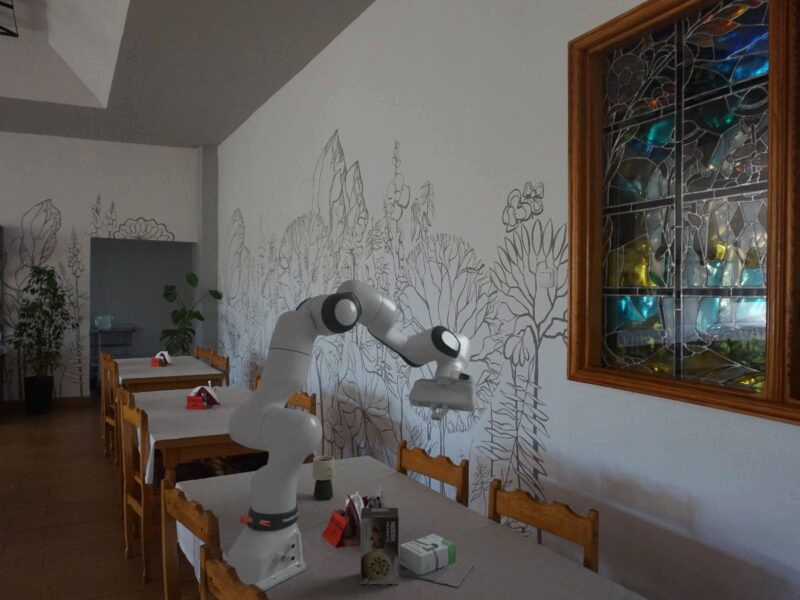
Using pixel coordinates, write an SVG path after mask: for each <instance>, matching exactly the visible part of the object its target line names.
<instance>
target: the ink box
mask: <svg viewBox="0 0 800 600" xmlns="http://www.w3.org/2000/svg"><path fill="white" fill-rule="evenodd" d="M456 547H457V546H456V543H455V542H452V541H450V540H448V539H446V538H443V537H442V536H439V535H437V534H435V533H432V534H429V535H427V536H424V537H420V538H418V539H414V540H412V541H409V542H405V543H402V544H399V564H400V565H401V566H402V567H404V568H406V570H407V569H409V570H411V571H412V572H414V573H416V574H417V575H423V574H426V573H428V572H431V571H434V570H436V569H439V568H441V567H444V566H447V565H449V564H452V563H455V562H456V561H457V551H456Z"/></svg>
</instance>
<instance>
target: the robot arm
mask: <svg viewBox="0 0 800 600" xmlns="http://www.w3.org/2000/svg"><path fill="white" fill-rule="evenodd" d="M396 302H397V301H395V300H394V299H393V298H392V296H390V295H389V294H388V293H385V292H384V291H382V290H380V289H378V288H377V287H374V286H372V285H370V284H368V283H365V282H364V281H360V280H356V279H351V278H350V279H347V280H345V281H343V282H342V283H341V284H340V285H339V286H338V288H337V289H336V291H335V293H330V294H329V293H328V294H326V293H325V294H319V295H316V296H313V297H307V298H306V299H304V300H303V301H302V302H300V303H299V304H298V305H297V307H296V308H295V310H288V311H285V312H283V313H282V314H280V315H279V317H278V319H277V322H276V324H275V326H274V330H273V332H272V334H271V337H270V341H269V346H268V351H267V355H266V359H265V363H264V367H263V371H262V376H261V378H260V379H259V383H258V385H257V387H256V389H255V390H254V392H253V393H252V395H250V397H249V399H247V400H246V401H245V402H244V403H243V404H241V405H240V406H238V407H236V409H235V410H234V411H233V412H232V414H231V415H230V418H229V421H228V428H227V429H228V434H229V436H230V438H231V440H232V441H234V442H235V443H237V444H239V445H241V446H243V447H246V448H249V449H254V450H260V451H265V452H268V460H267V463H266V465H263V466H262V467H260V468H259V469H258V470H256V471H255V472H254V473H253V475H252V477H251V483H250V485H251V491H250V493H251V495H250V497H251V498H250V500H251V501H250V507H249V509H248V512H247V514H243V513H242V514H241V515H240V516H239V519H238V521H239V523H240V524H246V525H245V527H244V528H243V530H242V531H241V532H240V535H239V536H238V537H237V539H236V541H235V542H234V543H233V544H232V547H230V549H229V550H228V553H227V557H226V564H227V563H228V564H229V565H231V566H233V567H234V568H235V569H236V571H237V573H238V575H239V577H240V578H241V579H242V580H243V581H244V582H245V583H248V584H254V585H256V586H258V587H259V588H261V589H262V590H264V591H263V592H266V591H267V590H268V589H271V588H273V587H275V586H276V585H279V584H280V583H282V582H284V581H286V580H288V579H289V578H291V577H293V576H295V575H298V574H299V573H301V572H303V571H305V570H306V569H307V563H306V562H305V561H304V558H303V546H302V543H303V542H302V536H301V535H302V534H301V532H300V529H299V527H298V523H297V521H298V519H299V507H298V504H297V493H298V492H297V488H298V477H299V473H300V471H301V470H300V469H301V467H302V464H303V463H304V461H305V460H306V459H307V458H308V457H309V456H310V455H312V453H314V452H315V451H316V450H317V449H318V448H319V446H320V444H321V442H322V440H323V439H322V438H323V426H322V423H321V421H320V419H319V418H318V416H317V415H314V414H312V413H309V412H306V411H303V410H301V409H295V408H286V407H285V406H286V404H287V402H288V401H289V399H290V398H291V397H292V396H293V395H295V394H297V393H299V392H300V391H302V390H303V389H304V388H305V386H306V384H307V382H308V377H309V372H310V371H309V370H310V366H311V359H312V355H313V350H314V349H313V348H314V344H315V341H316V339H317V337H318V336H322V337H328V336H336V335H338V334H339V335H340V334H341V335H342V334H345V333H347V332H350V331H351V330H352V329H354V328H355V327H356V325H357V324H359V325H362V326H363V327H365V328H366V329H367V331H368V333H369V334H370V336H371V337H373V338H374V339H375V340H377V341H378V342H379V343H381V344H382V345H384V346H385V347H386V348H388V349H390V350H391V351H393V352H394V353H395V354H396V355H398V356H399V357H400V358H401V359H402V361H404V363H406V364H407V365H408V366H409V367H412V368H415V369H419V368H422V367H423V366H425V365H427V364H429V363H432V362H434V361H435V362H436V363H437V368H436V370H435V373H434V376H433V378H423V377H422V378H419V379H417V380H415V381H414V382H413V386H412V388H411V390H410V393H408V401H409V403H410V405H412V406H413V407H420V408H430V410H431V415H430V418H431V420H432V421H438V422H439V421H440V422H442V421H443V418H444V417H445V416H446V415H447V414H448V413H449V411H460V412H469V413H472V412H473V411H475V410H476V407H477V402H478V401H477V400H478V395H477V392H478V387H477V383H476V381H475V378H474V376H473V375H470V374H468V373H466V370H467V368H468V366H469V363H470V360H471V354H472V345H471V341H470V339H469V338H468V337H467V336H466V335H464V334H462V333H459V332H457V333H456V332H455V333H454V332H452V331H451V330H450V329H448V328H447V327H445V326H443V325H436V326H433V327H431V328H428V329H426V330H424V331H421V332H419V333H416V334H412V335H406V334H405V333H402V332H401V331H399V329H397V328H396V327H394V326H395V324H396V322H397V319H398V314H399V313H398V312H399V311H398V310H399V309H398V305H397V303H396ZM438 409H440V412H437V410H438Z"/></svg>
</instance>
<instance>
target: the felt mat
mask: <svg viewBox="0 0 800 600" xmlns="http://www.w3.org/2000/svg"><path fill="white" fill-rule="evenodd" d="M447 566H448V565H447ZM444 567H445V566H444ZM444 567H441V568H439V569H436V570H434V571H431V572H428V573H426V574H423V575H417V574H416V573H414V572H412V571H411V570H409V569H407V568H406V570H405V571H404V572H403V574H402V576H404V575H405V576H404V577H409V576H410V577H409V578H413V577H415V578H414V579H417V578H421V579H420V580H422V579H426V580H431V581H437V580H439V579H438V578H442V577H441V576H442V574H444V573H445V572H446V571H448V570H447V569H449V568H448V567H445V568H444ZM443 569H444V570H443ZM453 569H455V568H453ZM450 570H451V569H450ZM456 570H458V569H456ZM460 570H461V569H460ZM442 571H443V572H442ZM452 571H454V570H452ZM449 572H450V571H449ZM459 572H460V571H459ZM440 573H441V574H440ZM438 575H440V576H438ZM443 577H445V576H443ZM426 580H425V581H426ZM431 581H430V582H431ZM440 581H442V580H440ZM438 582H439V581H438Z"/></svg>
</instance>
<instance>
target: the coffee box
mask: <svg viewBox="0 0 800 600" xmlns="http://www.w3.org/2000/svg"><path fill="white" fill-rule="evenodd" d="M399 525H400V514H399V508H398V507H362V508H361V511H360V581H359V584H361V586H363V585H362V584H367V585H366V586H373V585H372V584H382V586H383V585H387V584H392V585H399V582H400V580H399V577H400V575H399V572H400V571H399V567H400V566H399V564H400V563H399V553H400V544H399V540H400V539H399V537H400V536H399V535H400V534H399V531H400V530H399V529H400V526H399Z"/></svg>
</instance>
